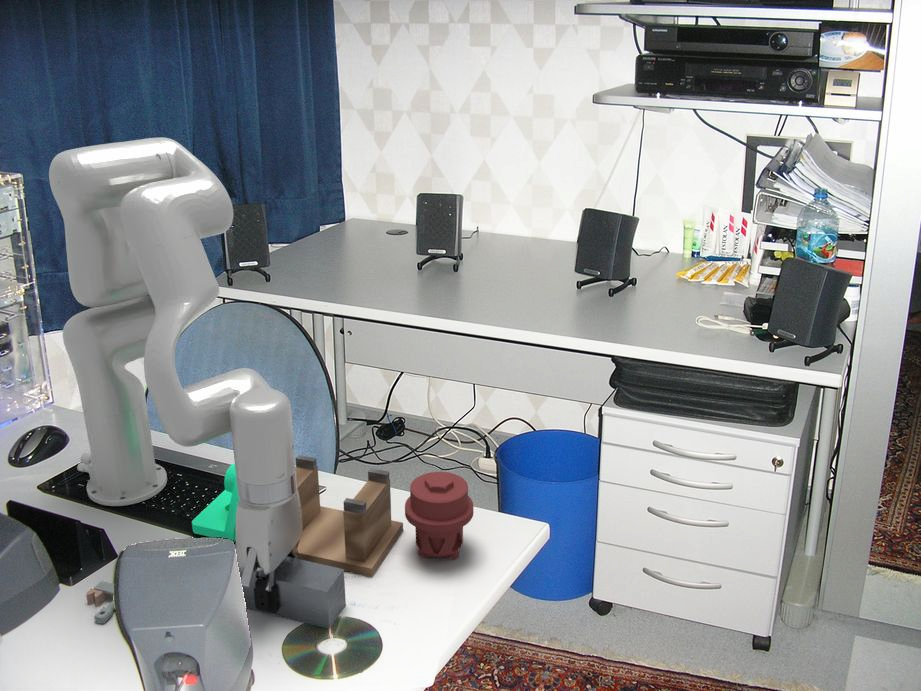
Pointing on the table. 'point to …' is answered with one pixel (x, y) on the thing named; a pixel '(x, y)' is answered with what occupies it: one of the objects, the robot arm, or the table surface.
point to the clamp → (102, 600)
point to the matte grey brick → (305, 592)
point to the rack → (346, 523)
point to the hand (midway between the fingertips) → (277, 595)
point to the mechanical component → (439, 513)
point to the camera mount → (220, 511)
